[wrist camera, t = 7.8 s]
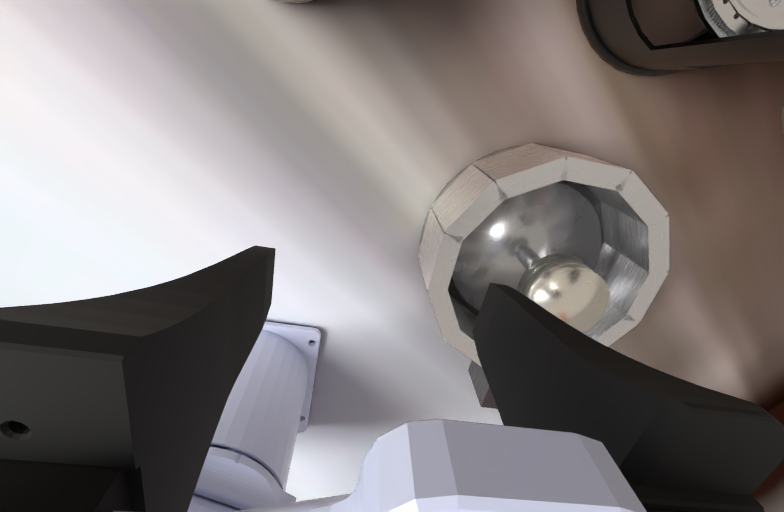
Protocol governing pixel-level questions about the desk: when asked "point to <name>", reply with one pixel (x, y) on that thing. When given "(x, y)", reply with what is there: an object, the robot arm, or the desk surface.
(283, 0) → the supplement bottle
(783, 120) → the sage mug
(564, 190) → the plunger
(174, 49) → the desk surface
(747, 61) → the french press
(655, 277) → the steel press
